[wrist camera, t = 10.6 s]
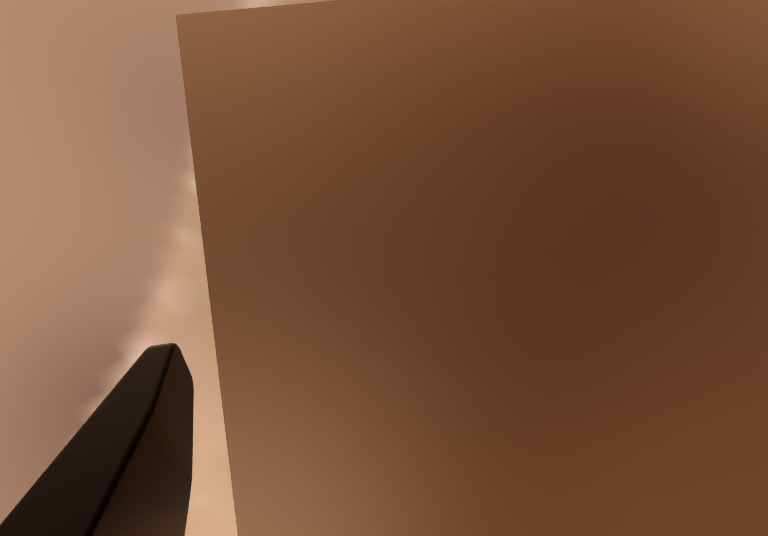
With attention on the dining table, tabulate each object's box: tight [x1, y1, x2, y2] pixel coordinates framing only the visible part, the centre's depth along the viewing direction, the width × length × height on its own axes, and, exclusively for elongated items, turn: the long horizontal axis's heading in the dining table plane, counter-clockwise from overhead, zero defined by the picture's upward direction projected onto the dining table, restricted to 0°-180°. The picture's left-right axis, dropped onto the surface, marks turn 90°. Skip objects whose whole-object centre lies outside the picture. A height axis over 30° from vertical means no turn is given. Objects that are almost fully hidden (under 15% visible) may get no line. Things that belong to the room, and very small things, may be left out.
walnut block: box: [176, 0, 768, 536], centre depth 11 cm, size 6×6×12 cm
